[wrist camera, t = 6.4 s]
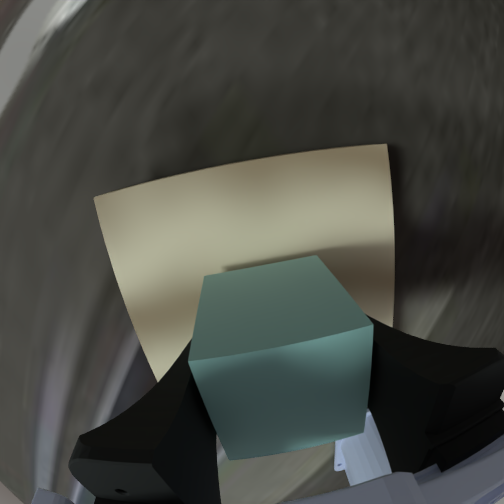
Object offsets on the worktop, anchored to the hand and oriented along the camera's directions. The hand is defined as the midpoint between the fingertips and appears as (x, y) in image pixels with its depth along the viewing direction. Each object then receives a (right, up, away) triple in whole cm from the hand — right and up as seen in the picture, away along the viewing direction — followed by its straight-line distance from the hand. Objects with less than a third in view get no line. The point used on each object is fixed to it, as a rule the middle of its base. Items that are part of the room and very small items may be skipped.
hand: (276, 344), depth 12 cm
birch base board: (0, +2, +5) cm, 6 cm away
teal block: (0, +1, +2) cm, 2 cm away
